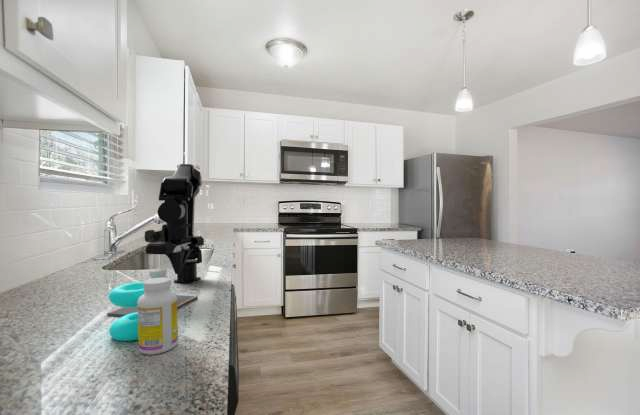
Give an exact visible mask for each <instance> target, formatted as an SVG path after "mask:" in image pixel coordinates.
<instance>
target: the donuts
mask: <svg viewBox="0 0 640 415" xmlns="http://www.w3.org/2000/svg"><path fill="white" fill-rule="evenodd" d="M144 281H145V280H144ZM144 281H134V282H129V283H124V284H121V285H118V286H116V287H113V289H112V290H111V291H110V292H109V295H108V300H109V302H110V304H112V305H114V306H116V307H119V308H121V307H137V302H138V299H139V297H140V296H142V295H143V294H144V292H145V291H144V289H143V282H144ZM109 336H110V337H111V338H112V339H114V340H116V341H119V342H132V341H138V312H135V313H131V314H128V315H125V316H123V317H119V318H118V319H116V320H115V321H113V323H112V324H111V325H110V327H109Z"/></svg>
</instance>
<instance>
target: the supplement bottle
mask: <svg viewBox="0 0 640 415" xmlns="http://www.w3.org/2000/svg"><path fill="white" fill-rule="evenodd" d="M148 279H149V278H148ZM148 279H146V280H144V282H143V289H144V291H145V292H144V294H143V295H142V296H140V297H139V299H138V302H137V309H138V340H137V341H138V346H137V347H138V350H139V352H140V353H141V354H144V355H149V356H150V355H159V354H162V353H165V352H166V353H167V352H168V351H170V350H172V349H173V348H175V347H176V345H177V344H178V342H179V332H178V331H179V330H178V325H179V324H178V309H177V295H178V294H177V293H176V292H175V291H173V290H171V286H172V279H171V278H170V277H168V278H153V279H149V280H148Z"/></svg>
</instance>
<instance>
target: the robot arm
mask: <svg viewBox="0 0 640 415" xmlns="http://www.w3.org/2000/svg"><path fill="white" fill-rule="evenodd" d="M202 180H203V178H202V175H201V172H200V171H199V170H197V169H196V168H195V166H194V164H191V163H187V164H186V163H179V164H177V166H176V170H175V172H174V174H173V175H169V176H168V175H167V176H165V177H164V178H163V180H162V181H161V183H160V189H159V195H158V201H164V202H162V203H161V204H160V205H159V206H158V209H157V216H158V218H159V219H160V220H161V221H162V222H164V224H162V226H161V229H160V230H158V231H157V230H154V229H148V230H146V231H144V241H145V242H146V243H147V245H146V246H145V254H146V255H165V256H166V257H167V258H168V260H169V262H170V264H171V266H172V269H173V271H174V273H175V275H177V277H176V278H177V279H174V280H173V283H179V284H180V283H183V284H191V283H193V282H196V281H198V280H200V279H202V278H201V276H200V277H198V276H197V274H198V272H197V270H198V269H197V268H198V267H197V265H199V264H201V263H203V252H202V249H201V248H200V246H204V245H205V238H204V237H203V236H201V235H197V236H196V235H194V230H195V229H194V228H195V227H194V225H195V207H196V206H195V202H196V197H197V195H198V194H199V192H200V189H201V187H202Z"/></svg>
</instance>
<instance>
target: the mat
mask: <svg viewBox="0 0 640 415" xmlns="http://www.w3.org/2000/svg"><path fill="white" fill-rule="evenodd" d="M176 295H177V310H178V309H181V308H182V307H184V306H186V305H188V304H190V303H192V302H193V301H195V300H197V299H198V298H199V296H198V295H183V294H182V295H181V294H180V295H179V294H176ZM135 312H138V309H137V307H119V308H116V309H114V310H111V311H109V312H108V311H107V314H106V315H107V316H108V317H119V318H121V317H123V316H125V315H128V314H131V313H135Z"/></svg>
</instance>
